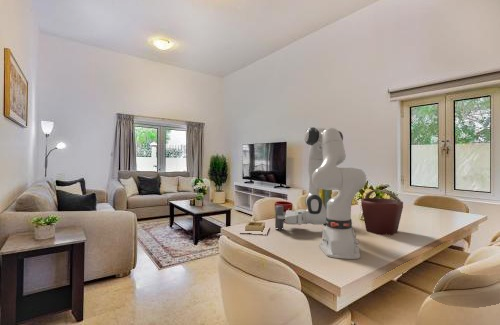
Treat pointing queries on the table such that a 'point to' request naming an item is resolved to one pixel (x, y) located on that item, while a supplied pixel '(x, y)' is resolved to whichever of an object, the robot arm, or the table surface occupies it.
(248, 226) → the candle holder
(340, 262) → the table surface
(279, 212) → the grey cylinder
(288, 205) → the plant pot
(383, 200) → the brown basket
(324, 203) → the book
